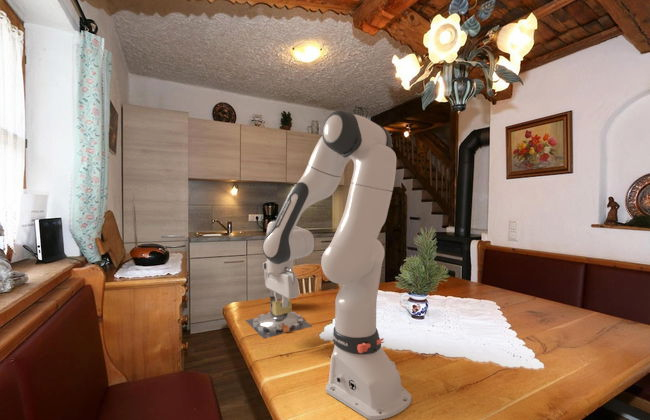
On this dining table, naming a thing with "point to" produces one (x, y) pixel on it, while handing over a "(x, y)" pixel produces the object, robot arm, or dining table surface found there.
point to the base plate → (267, 334)
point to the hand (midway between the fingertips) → (281, 305)
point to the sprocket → (277, 322)
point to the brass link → (281, 308)
